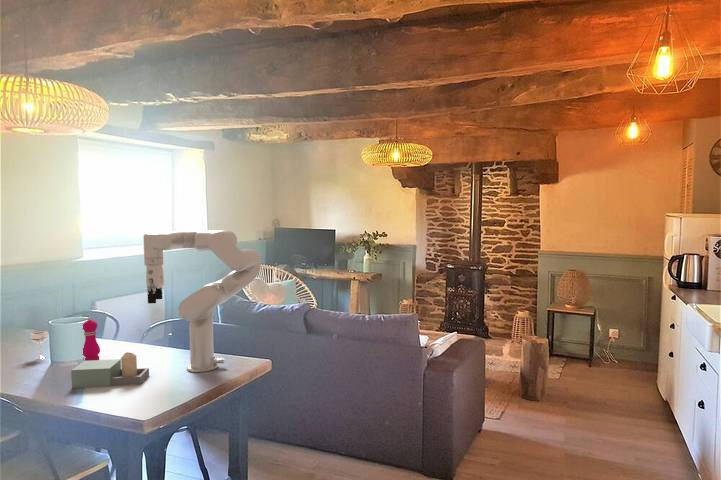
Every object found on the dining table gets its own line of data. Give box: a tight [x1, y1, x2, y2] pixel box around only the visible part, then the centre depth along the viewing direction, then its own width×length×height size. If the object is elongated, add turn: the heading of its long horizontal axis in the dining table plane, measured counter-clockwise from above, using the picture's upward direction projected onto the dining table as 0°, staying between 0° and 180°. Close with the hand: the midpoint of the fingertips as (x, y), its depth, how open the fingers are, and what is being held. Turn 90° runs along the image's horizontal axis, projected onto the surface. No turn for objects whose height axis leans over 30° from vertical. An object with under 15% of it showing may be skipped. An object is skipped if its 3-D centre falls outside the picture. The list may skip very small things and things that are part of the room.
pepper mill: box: [82, 316, 101, 361], centre depth 229 cm, size 7×7×20 cm
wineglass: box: [30, 329, 49, 360], centre depth 235 cm, size 7×7×12 cm
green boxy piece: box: [70, 358, 150, 389], centre depth 201 cm, size 25×12×7 cm, turn 96°
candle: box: [120, 351, 138, 377], centre depth 202 cm, size 6×6×10 cm
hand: (155, 301), depth 219 cm, fingers open, 9 cm apart
